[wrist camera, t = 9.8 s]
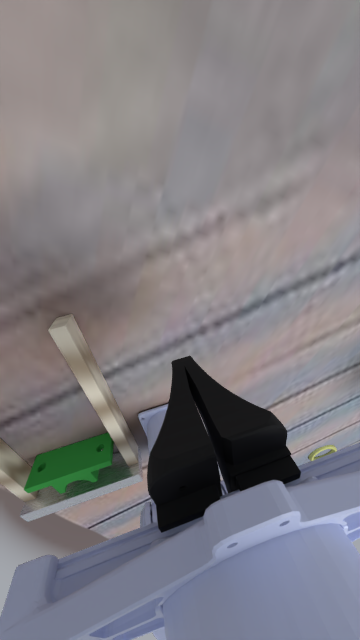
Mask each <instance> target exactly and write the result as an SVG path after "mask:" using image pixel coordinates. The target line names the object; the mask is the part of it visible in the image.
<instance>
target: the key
mask: <svg viewBox="0 0 360 640" xmlns="http://www.w3.org/2000/svg"><path fill="white" fill-rule="evenodd" d="M325 449H332V450H331V451H330V452H328V453H326V454H324V455H322V456H319V457H315V455H316V454H318V453H319V452H321V451H323V450H325ZM336 451H337V449H336V448H335V446H334V445H327V446H324V447H321V448H318V449H316V450H315V451H313V452H312V453H311V454H310V455H309V459H310V460H311V461H313V460H316V459H318V458H321V457H324V456H326V455H329V454H331V453H334V452H336Z"/></svg>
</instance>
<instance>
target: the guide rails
mask: <svg viewBox="0 0 360 640" xmlns="http://www.w3.org/2000/svg"><path fill="white" fill-rule="evenodd" d="M48 331H49V333H50V335H51V336H52V338H53V340H54V341H55V343H56V345H57V346H58V348H59V350H60V351H61V353H62V355H63V357H64V358H65V360H66V362H67V363H68V365H69V367H70V368H71V370H72V372H73V373H74V375H75V377H76V378H77V380H78V382H79V384H80V385H81V387H82V389H83V390H84V392H85V394H86V395H87V397H88V399H89V400H90V402H91V404H92V406H93V407H94V409H95V411H96V412H97V414H98V416H99V417H100V419H101V421H102V422H103V424H104V426H105V427H106V429H107V431H108V433H109V434H110V436H111V438H112V439H113V441H114V443H115V444H116V446H117V448H118V449H119V451H120V453H121V455H122V456H123V458H124V460H125V461H126V463H127V465H128V466H131V465H134V464H137V463H139V462H138V445H137V443H136V441H135V439H134V437H133V435H132V433H131V431H130V429H129V427H128V425H127V423H126V421H125V419H124V417H123V415H122V413H121V411H120V409H119V407H118V405H117V403H116V401H115V399H114V397H113V395H112V393H111V391H110V389H109V387H108V385H107V383H106V381H105V379H104V377H103V375H102V373H101V371H100V369H99V367H98V365H97V363H96V361H95V359H94V357H93V355H92V353H91V351H90V349H89V347H88V345H87V343H86V341H85V339H84V337H83V335H82V333H81V331H80V329H79V327H78V325H77V323H76V321H75V319H74V317H73V315H72V314H70V315H66V316H62V317H58V318H56V320H55V321H54V322H53V324H52V325H51V327H50V328H49V329H48ZM31 469H32V467H30V466H29V465H28V464H27V463H26V462H25V461H24V460H23V459H22V458H21V457H20V456H19V455H18V454H17V453H16V452H14V451H13V450H12V449H11V448H10V447H9V446H8V445H7V444H6V443H5V442H4V441H3V440H2V439H1V438H0V484H1V485H3V486H4V487H5V488H7V489H8V490H9V491H11V492H12V493H13V494H15V495H16V496H17V497H19V498H20V499H21V500H23V501H24V502H27V501H30V500H32V499H35V498H36V497H37V494H38V491H39V490H37V491H34V492H31V493H27V492H26V491H24V487H25V485H26V482H27V480H28V477H29V474H30V472H31Z"/></svg>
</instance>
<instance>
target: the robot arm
mask: <svg viewBox="0 0 360 640" xmlns="http://www.w3.org/2000/svg"><path fill="white" fill-rule="evenodd" d="M195 404H196V405H195ZM196 406H197V407H196ZM197 408H198V410H197ZM198 411H199V412H198ZM199 413H200V415H201V417H202V419H203V422H204V424H205V427H206V429H205V427H204V424H203V422H202V419H201V417H200V415H199ZM138 418H139V420H140V423H141V425H142V427H143V429H144V432H145V434H146V436H147V438H148V449H149V462H148V472H147V482H148V492H149V495H150V496H151V502H152V505H151V502H146V503H145V505H144V508H143V509H142V511H141V516H140V528H138V529H135V530H133V531H130V532H128V533H125V534H122V535H120V536H117V537H115V538H112V539H110V540H107V541H105V542H102V543H99V544H97V545H94V546H92V547H89V548H86V549H84V550H81V551H79V552H76V553H73V554H71V555H68V556H66V557H63V558H61V559H58V558H57V557H56V556H54V555H45V556H41V557H39V558H36V559H34V560H31V561H28V562H26V563H23V564H21V565H19V566H18V567H17V568H16V570H15V573H14V576H13V579H12V582H11V586H10V589H9V592H8V595H7V598H6V601H5V604H4V607H3V610H2V614H1V617H0V640H132V639H135V638H137V637H140V636H143V635H146V634H148V633H151V632H153V635H154V636H155V638H156V639H157V640H360V554H359V552H358V551H357V549H356V548H355V546H354V545H353V544H352V542H353V541H355V540H357V539H359V538H360V443H357V444H355V445H352V446H349V447H347V448H344V449H342V450H339V451H336V452H334V453H331V454H329V455H326V456H324V457H321V458H318V459H316V460H313V461H311V462H308V463H306V464H303V465H300V466H297V465H296V463H295V462H294V461H293V459H292V458H291V456H290V455H291V453H290V451H289V449H288V448H287V447H286V439H287V430H286V429H285V427H284V426H283V424H282V423H281V422H280V421H279V420H278V419H277V418H276V416H275V415H274V414H273V413H272V412H270V411H268V410H265V409H263V408H260V407H258V406H256V405H254V404H252V403H250V402H248V401H246V400H244V399H242V398H240V397H239V396H237V395H235V394H233V393H232V392H230V391H229V390H227V389H226V388H224V387H223V386H221V385H220V384H219V383H217V382H216V381H215V380H214V379H212V378H211V377H210V376H209V375H208V374H207V373H206V372H205V371H204V370H203V369H202V368H201V367H200V366H199V365H198V364H197V363H196V362H195V361H194V360H193V358H192V357H191V356H187V357H184V358H181V359H177V360H174V361H172V386H171V393H170V399H169V403H168V404H166V405H163V406H160V407H157V408H154V409H150V410H147V411H144V412H141V413H139V414H138ZM206 430H207V431H206ZM207 432H208V434H207ZM208 435H209V436H208ZM217 462H218V463H217ZM218 465H219V468H220V471H221V474H222V477H223V480H224V481H223V480H222V481H221V480H220V475H219V469H218Z"/></svg>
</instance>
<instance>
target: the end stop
mask: <svg viewBox="0 0 360 640" xmlns="http://www.w3.org/2000/svg"><path fill="white" fill-rule="evenodd" d="M138 462H139V463H137V464H134V465H131V466H128V465H127V463H126V461H125V460H124V458H123V456H122V455H121V453H120V452H119V453H116V454H113V458H112V465H110V466H107V467H105V468H102V469H99V473H98V481H96V482H93V483H92V482H91V481H88V480H77V481H73V482H71V483H69V484H68V485H67V489H66V492H65V493H62V494H60V493H59V492H58V491H57V490H55V489H54V488H53V487H52V486H49V487H46V488H43V489H40V490H39V491H38V494H37V497H36V498H35V499H32V500H30V501H27V502H25V503H24V506H23V509H22V511H21V514H20V517H22V518H23V519H25V520H26V521H27V522H29V521H31V520H34V519H37V518H40V517H42V516H45V515H48V514H51V513H54V512H57V511H59V510H62V509H65V508H68V507H71V506H73V505H76V504H79V503H82V502H85V501H88V500H90V499H93V498H96V497H99V496H102V495H104V494H107V493H110V492H113V491H116V490H118V489H121V488H124V487H127V486H130V485H132V484H135V483H138V482H141V481H143V477H142V458H141V451H140V449H139V447H138Z"/></svg>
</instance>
